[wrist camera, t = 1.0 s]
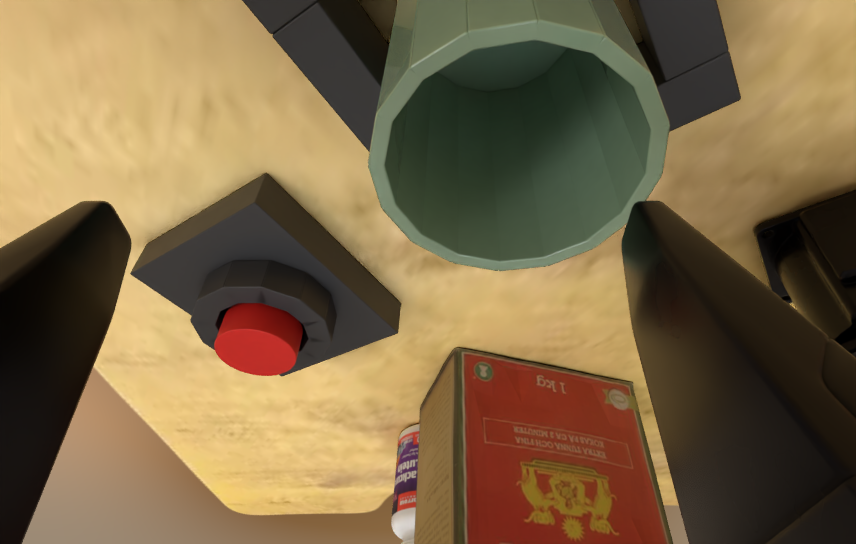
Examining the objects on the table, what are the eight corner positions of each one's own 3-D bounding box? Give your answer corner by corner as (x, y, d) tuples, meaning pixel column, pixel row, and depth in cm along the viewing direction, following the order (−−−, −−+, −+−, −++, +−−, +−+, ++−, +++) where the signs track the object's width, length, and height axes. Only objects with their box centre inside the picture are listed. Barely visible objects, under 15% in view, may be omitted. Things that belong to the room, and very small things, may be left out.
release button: (319, 334, 29) (313, 362, 27) (264, 356, 30) (256, 383, 29) (263, 290, 26) (254, 319, 25) (207, 317, 28) (196, 345, 27)
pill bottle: (420, 413, 41) (413, 551, 35) (478, 433, 43) (482, 567, 37) (386, 440, 45) (373, 571, 38) (441, 457, 47) (438, 584, 40)
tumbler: (618, 34, 20) (701, 208, 13) (460, 120, 23) (462, 299, 16) (542, -160, 16) (604, -54, 9) (362, -28, 19) (309, 128, 12)
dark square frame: (712, 57, 21) (742, 100, 19) (440, 189, 26) (439, 235, 24) (597, -351, 13) (624, -359, 11) (250, -55, 19) (223, -21, 16)
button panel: (401, 303, 32) (396, 360, 29) (289, 348, 36) (275, 402, 33) (266, 172, 25) (243, 230, 23) (146, 244, 29) (114, 301, 26)
